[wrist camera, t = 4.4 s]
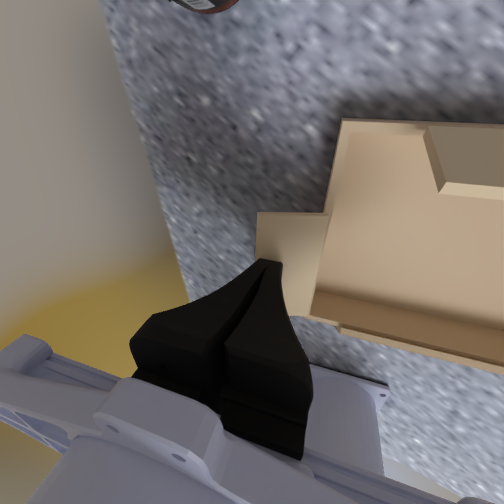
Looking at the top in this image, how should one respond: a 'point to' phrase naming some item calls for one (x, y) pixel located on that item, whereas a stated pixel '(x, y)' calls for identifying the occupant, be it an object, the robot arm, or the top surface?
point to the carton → (409, 250)
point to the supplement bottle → (206, 5)
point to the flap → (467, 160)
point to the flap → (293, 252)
